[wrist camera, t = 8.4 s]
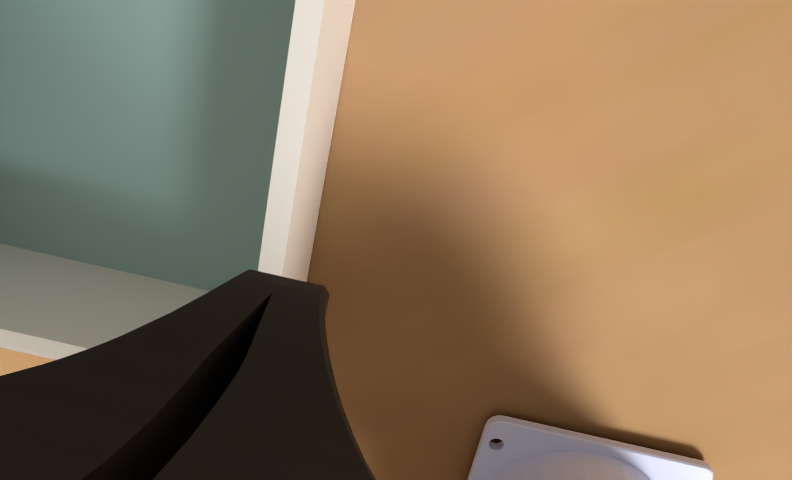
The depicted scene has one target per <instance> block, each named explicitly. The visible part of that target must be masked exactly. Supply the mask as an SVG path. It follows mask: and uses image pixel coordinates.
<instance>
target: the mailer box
mask: <svg viewBox="0 0 792 480" xmlns="http://www.w3.org/2000/svg"><path fill="white" fill-rule="evenodd" d="M355 2H356V0H0V347H1V348H5V349H10V350H14V351H18V352H23V353H27V354H32V355H36V356H41V357H45V358H49V359H54V360H58V359H61V358H64V357H67V356H70V355H72V354H75V353H78V352H81V351H84V350H87V349H89V348H92V347H95V346H97V345H100V344H102V343H105V342H107V341H110V340H112V339H115V338H117V337H119V336H122V335H124V334H126V333H128V332H130V331H132V330H134V329H137V328H139V327H141V326H143V325H145V324H147V323H149V322H152V321H154V320H156V319H158V318H160V317H162V316H164V315H166V314H169V313H171V312H173V311H175V310H176V309H178V308H180V307H182V306H184V305H186V304H188V303H189V302H191V301H193V300H195V299H197V298H199V297H200V296H202V295H204V294H206V293H208V292H209V291H211V290H213V289H215V288H216V287H218V286H220V285H222V284H223V283H225V282H227V281H229V280H230V279H232V278H234V277H236V276H237V275H239V274H241V273H243V272H245V271H247V270H249V269H251V270H256V271H260V272H264V273H269V274H273V275H278V276H282V277H286V278H291V279H295V280H300V281H304V282H307V278H308V272H309V266H310V261H311V255H312V249H313V243H314V238H315V232H316V226H317V220H318V215H319V209H320V203H321V197H322V192H323V186H324V180H325V174H326V169H327V163H328V157H329V151H330V145H331V140H332V134H333V128H334V122H335V117H336V111H337V105H338V99H339V94H340V88H341V82H342V76H343V71H344V65H345V59H346V53H347V48H348V42H349V36H350V30H351V25H352V19H353V13H354V7H355Z"/></svg>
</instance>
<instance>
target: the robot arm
mask: <svg viewBox="0 0 792 480" xmlns="http://www.w3.org/2000/svg"><path fill="white" fill-rule="evenodd" d="M328 298H329V293H328V291H327V290H326V288H325V287H324V286H322V285H317V284H313V283H309V282H304V281H300V280H295V279H291V278H286V277H282V276H278V275H273V274H269V273H264V272H260V271H256V270H251V269H249V270H247V271H245V272H243V273H241V274H239V275H237V276H236V277H234V278H232V279H230V280H229V281H227V282H225V283H223V284H222V285H220V286H218V287H216V288H215V289H213V290H211V291H209V292H208V293H206V294H204V295H202V296H200V297H199V298H197V299H195V300H193V301H191V302H189V303H188V304H186V305H184V306H182V307H180V308H178V309H176V310H175V311H173V312H171V313H169V314H166V315H164V316H162V317H160V318H158V319H156V320H154V321H152V322H149V323H147V324H145V325H143V326H141V327H139V328H137V329H134V330H132V331H130V332H128V333H126V334H124V335H122V336H119V337H117V338H115V339H112V340H110V341H107V342H105V343H102V344H100V345H97V346H95V347H92V348H89V349H87V350H84V351H81V352H78V353H75V354H72V355H70V356H67V357H64V358H61V359H58V360H55V361H52V362H49V363H46V364H43V365H39V366H36V367H32V368H28V369H25V370H21V371H17V372H14V373H10V374H6V375H3V376H0V480H376V479H375V477H374V476H373V474H372V472H371V470H370V469H369V467H368V465H367V463H366V461H365V459H364V457H363V455H362V453H361V451H360V448H359V446H358V444H357V442H356V440H355V438H354V435H353V433H352V430H351V428H350V425H349V423H348V420H347V418H346V415H345V412H344V409H343V406H342V403H341V400H340V397H339V394H338V390H337V386H336V383H335V379H334V375H333V371H332V367H331V362H330V357H329V350H328V344H327V338H326V328H325V314H326V309H327V303H328ZM492 439H500V440H502V441H501V442H499V443H493V442H491V441H490V440H492ZM713 477H714V475H713V472H712V470H711V468H710V466H709V465H708V464H707V463H706V462H704V461H702V460H698V459H694V458H689V457H685V456H680V455H676V454H672V453H667V452H663V451H658V450H654V449H649V448H645V447H641V446H636V445H632V444H627V443H623V442H618V441H614V440H610V439H605V438H601V437H596V436H592V435H587V434H583V433H579V432H574V431H570V430H565V429H561V428H557V427H552V426H548V425H543V424H539V423H534V422H530V421H526V420H521V419H517V418H512V417H508V416H503V415H496V416H493V417H491V418H490V419H488V420H487V422H486V424H485V427H484V430H483V433H482V436H481V439H480V442H479V445H478V448H477V451H476V454H475V457H474V460H473V463H472V467H471V470H470V473H469V476H468V479H467V480H713Z"/></svg>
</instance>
